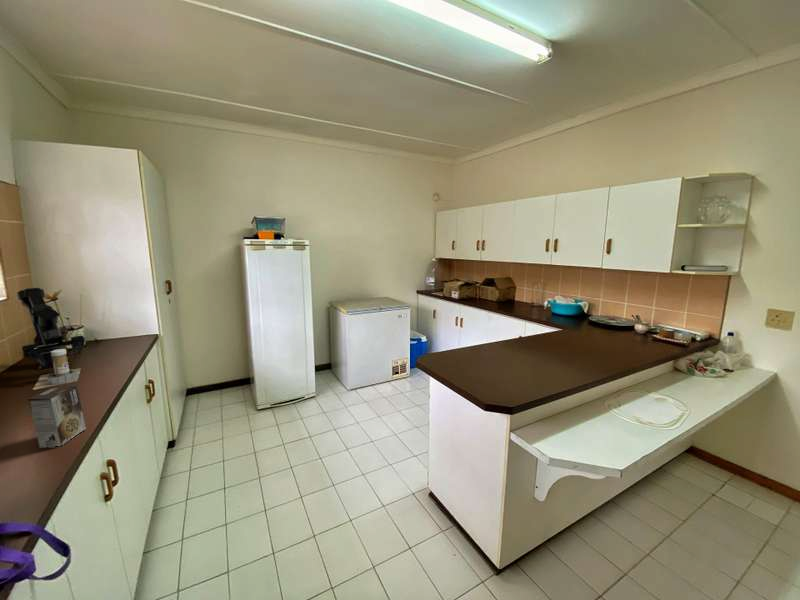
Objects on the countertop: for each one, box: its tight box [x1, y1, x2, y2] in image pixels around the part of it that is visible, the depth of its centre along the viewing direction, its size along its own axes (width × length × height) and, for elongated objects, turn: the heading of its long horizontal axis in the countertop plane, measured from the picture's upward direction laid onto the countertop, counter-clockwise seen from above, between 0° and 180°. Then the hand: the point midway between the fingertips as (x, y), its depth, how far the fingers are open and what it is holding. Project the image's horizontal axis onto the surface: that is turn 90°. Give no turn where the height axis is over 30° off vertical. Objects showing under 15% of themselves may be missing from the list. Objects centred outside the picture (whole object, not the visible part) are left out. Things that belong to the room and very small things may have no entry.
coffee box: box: [28, 384, 87, 449], centre depth 101 cm, size 9×6×16 cm
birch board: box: [32, 368, 82, 390], centre depth 144 cm, size 18×13×1 cm
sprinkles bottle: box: [51, 348, 70, 377], centre depth 141 cm, size 5×5×14 cm
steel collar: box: [47, 368, 79, 385], centre depth 142 cm, size 9×9×3 cm
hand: (60, 361), depth 140 cm, fingers open, 9 cm apart
